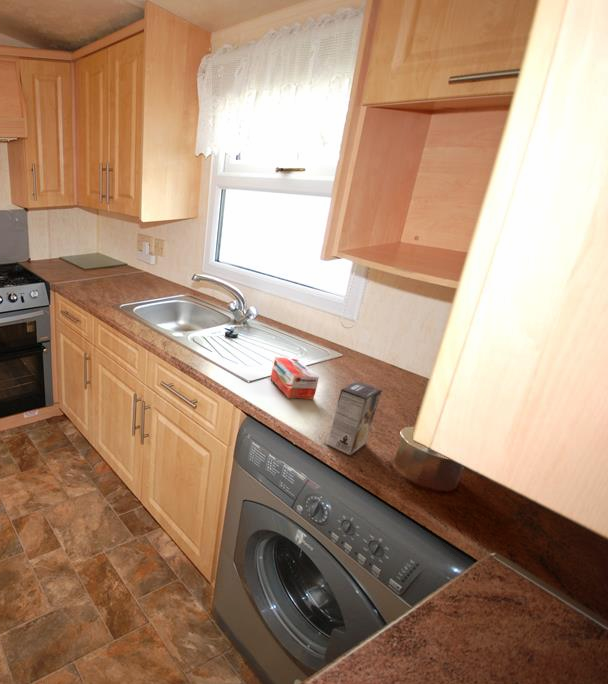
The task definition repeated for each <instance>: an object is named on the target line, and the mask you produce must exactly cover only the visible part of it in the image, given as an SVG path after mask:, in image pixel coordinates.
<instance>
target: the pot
mask: <svg viewBox="0 0 608 684" xmlns="http://www.w3.org/2000/svg"><path fill="white" fill-rule="evenodd" d="M392 466H393V468H394V469H395V470H396V472H397V473H398V474H399V475H401V476H402V477H403V478H404V479H407V480H408V481H411V482H412V483H414V484H416V485H417V486H421V487H424V488H427V489H430V490H436V491H440V492H447V491H448V492H449V491H453V490H454V489H456V488H457V487H458V485H459V483H460V481H461V478H462V476H463V473H464V471H465V468H466V467H465V468H464V467H462V466H460V465H459V464H457V463H455V462H452V461H446V460H442V459H438V458H434V457H432V456H429V455H426V454H424V453H422V452H420V451H418V450H416V449H414V448H412V447H411V446H409V445H408V444H407V443H405V442H404V441H403V439H402V438H401V437H400V439H399V443H398V445H397V448H396V452H395V454H394V457H393V460H392Z"/></svg>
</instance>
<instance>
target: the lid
mask: <svg viewBox="0 0 608 684" xmlns="http://www.w3.org/2000/svg"><path fill="white" fill-rule="evenodd" d="M414 427H415V426H406V427H404V428H402V429H401V430H400V433H399V436H400V439H401V438H402V439H403V441H404V442H405V443H407V444H408V445H409V446H411V447H412V448H414V449H416V450H418V451H420V452H422V453H424V454H426V455H429V456H432V457H434V458H438V459H442V460H446V461H451V460H449V459H448V458H446V457H444V456H442V455H440V454H438V453H435V452H433V451H432V450H430V449H428V448H426V447H424V446H422V445H420V444H417V443H415V442H414V441H413V439H412V434H413V429H414ZM452 462H453V461H452Z"/></svg>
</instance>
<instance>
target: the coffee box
mask: <svg viewBox="0 0 608 684" xmlns="http://www.w3.org/2000/svg"><path fill="white" fill-rule="evenodd" d="M382 392H383V389H381V388H378V387H375V386H373V385H370V384H367V383H363V382H361V381H358V380H355V381H354V382H352V383H349V384H348V385H347V386H345V387H343V388H341V390H340V393H339V395H338V396H339V397H338V400H337V403H336V406H335V411H334V414H333V417H332V421H331V425H330V429H329V432H328V436H327V439H326V445H328V446H330V447H332V448H333V449H336V450H338V451H340V452H342V453H344V454H346V455H349V456H351V455H353V454H354V453H355V452H356V451H358V450H359V449H361V448H362V447H363V446H365V445H366V442H367V439H368V436H369V433H370V430H371V426H372V423H373V420H374V416H375V414H376V411H377V408H378V405H379V401H380V398H381V395H382Z"/></svg>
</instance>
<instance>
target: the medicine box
mask: <svg viewBox="0 0 608 684" xmlns="http://www.w3.org/2000/svg"><path fill="white" fill-rule="evenodd" d="M270 373H271V374H270V380H271V381H272V382H273V383H274V384H275V385H276V386H277V387H278V388H279V390H280V391H281V392H282V393H283V394H284V395H285V396H286V398H288V399H295V400H296V399H297V400H298V399H303V400H314V398H315V395H316V392H317V387H318V383H319V378H320V376H318V374H316V373H315V372H314V371H313V370H312V369H310V368H309V367H308V366H307V365H306V364H304V363H303V362H302V361H301V360H299V359H298V358H296V357H295V358H294V357H279V356H278V357H276V356H275V357H274V360H273V364H272V368H271V372H270Z"/></svg>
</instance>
